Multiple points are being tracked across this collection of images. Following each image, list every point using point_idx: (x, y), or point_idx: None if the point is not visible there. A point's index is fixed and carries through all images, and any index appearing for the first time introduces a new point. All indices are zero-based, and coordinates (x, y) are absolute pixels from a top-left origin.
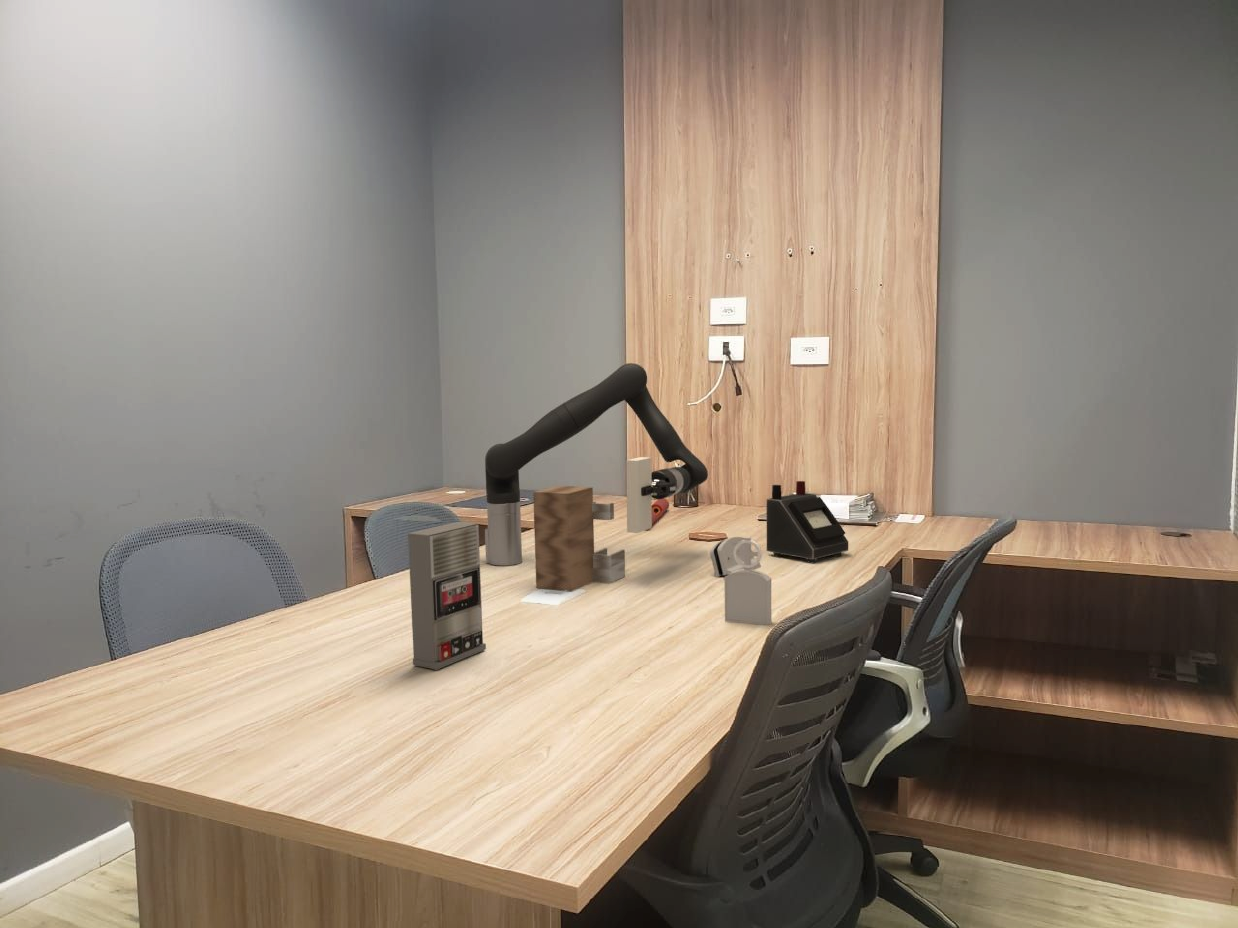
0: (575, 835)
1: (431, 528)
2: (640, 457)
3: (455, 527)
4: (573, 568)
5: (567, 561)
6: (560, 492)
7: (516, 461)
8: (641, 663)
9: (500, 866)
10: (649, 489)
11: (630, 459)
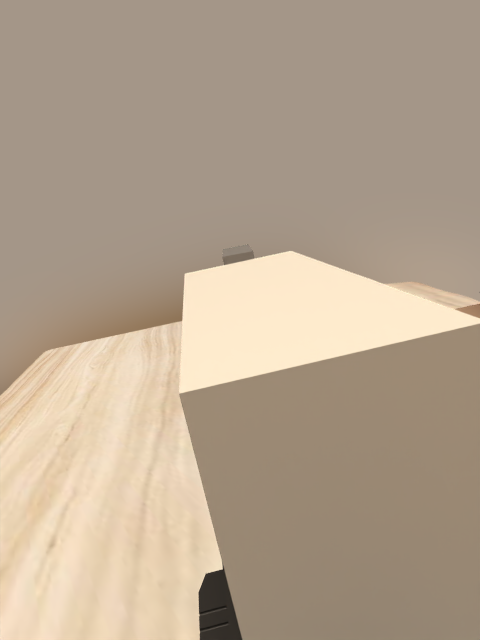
0: (53, 356)
1: (247, 247)
2: (413, 310)
3: (229, 252)
4: None
5: None
6: (468, 313)
7: None
8: (67, 445)
9: (75, 344)
10: (202, 636)
11: (304, 259)
